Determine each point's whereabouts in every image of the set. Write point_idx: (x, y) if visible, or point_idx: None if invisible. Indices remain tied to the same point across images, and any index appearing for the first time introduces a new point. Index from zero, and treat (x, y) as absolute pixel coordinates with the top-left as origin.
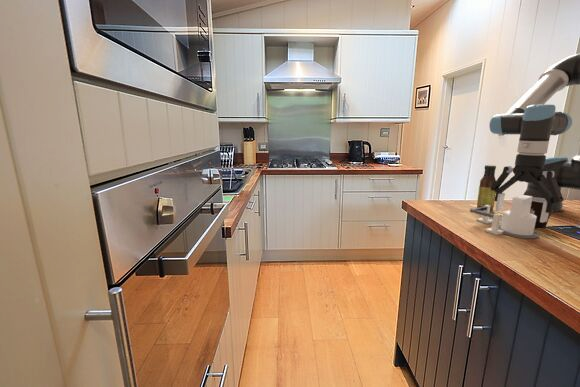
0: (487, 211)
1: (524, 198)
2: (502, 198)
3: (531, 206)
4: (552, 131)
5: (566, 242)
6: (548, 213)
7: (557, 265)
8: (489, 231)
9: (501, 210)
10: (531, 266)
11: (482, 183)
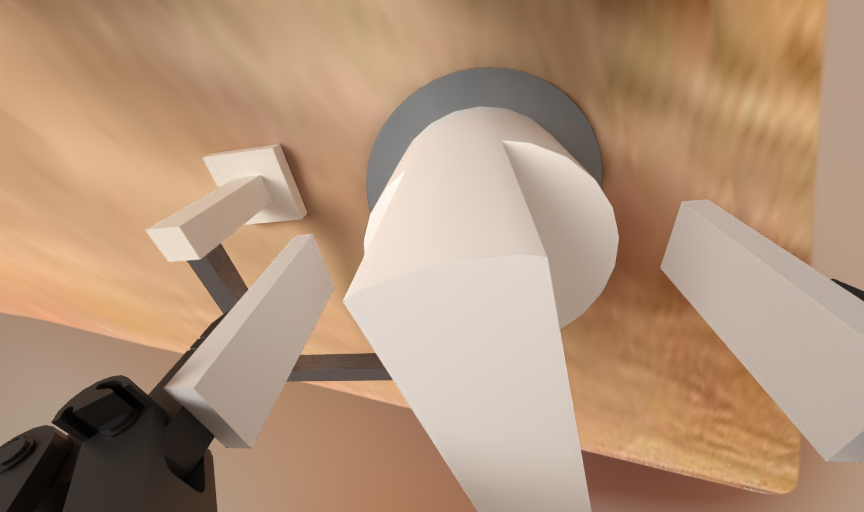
0: (232, 230)
1: (559, 471)
2: (260, 351)
3: None
4: None
5: (767, 52)
6: (773, 249)
7: (750, 386)
8: None
9: (316, 244)
10: (687, 434)
11: None
